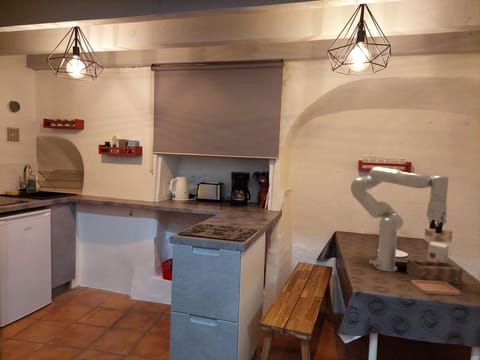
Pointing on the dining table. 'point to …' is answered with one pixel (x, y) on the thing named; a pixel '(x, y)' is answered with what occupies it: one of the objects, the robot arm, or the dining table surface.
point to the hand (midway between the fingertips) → (435, 231)
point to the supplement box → (438, 251)
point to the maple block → (438, 235)
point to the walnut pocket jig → (434, 271)
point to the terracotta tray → (435, 287)
